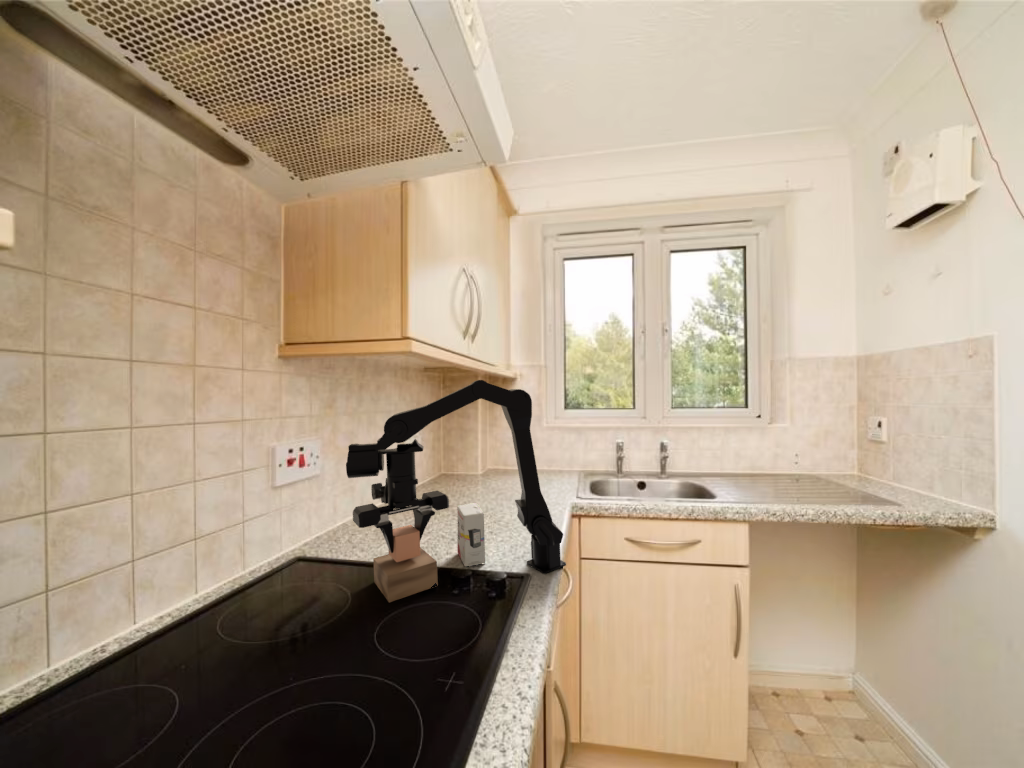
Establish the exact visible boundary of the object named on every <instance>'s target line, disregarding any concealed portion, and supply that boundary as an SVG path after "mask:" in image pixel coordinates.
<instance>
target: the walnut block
mask: <svg viewBox="0 0 1024 768" xmlns="http://www.w3.org/2000/svg"><path fill="white" fill-rule="evenodd" d="M438 579H439V578H438V561H437V560H436V559H435V558H434V557H432V556H431V555H430V554H429V553H428V552H426V551H425V550H424V549H423V548H422V547H421V546H420V556H417V557H413V558H410V559H407V560H403V561H400V562H396V561H395V560H394V559H393V558H392V557H391V556H390V555H389V553H388V554H387V553H386V554H384V555H381V556H378V557H374V558H373V582H374V584H375V585H376V586H377V589H379V590H380V593H381V594H382V595H383V597H384V598H385V599H386V601H387V602H388V603H392V602H395V601H398V600H400V599H403V598H406V597H410V596H412V595H416V594H417V593H421V592H424V591H427V590H429V589H432V588H433V587H432V586H433V585H434V584H435V583H436V584H437V586H436V587H438V585H439V582H438ZM431 587H432V588H431Z"/></svg>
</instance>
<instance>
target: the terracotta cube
mask: <svg viewBox="0 0 1024 768" xmlns="http://www.w3.org/2000/svg"><path fill="white" fill-rule="evenodd" d="M393 541H394V549H393V553H391V552H390V551H389V550H388V554H389V555H390V556H391V557H392V558H393V559H394V560H395V561H396V562H400V561H403V560H407V559H410V558H413V557H417V556H420V547H421V540H420V531H418V530H417V529H416V528H415V527H414V526H413V525H412V524H408V525H404V526H400V527H395V528H393Z"/></svg>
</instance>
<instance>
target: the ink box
mask: <svg viewBox="0 0 1024 768" xmlns="http://www.w3.org/2000/svg"><path fill="white" fill-rule="evenodd" d="M485 544H486V543H485V513H484V511H483V510H482V509H481V507H480V506H479V505H478V503H476V502H475V503H474V502H473V503H465V504H460V505H457V553H458V556H459V559H460V560H461V562H462V564H463V565H464V567H465V566H469V567H472V566H471V565H476V566H478V565H477V564H482V563H485V564H486V550H485V548H486V545H485ZM482 565H483V564H482Z"/></svg>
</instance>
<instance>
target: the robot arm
mask: <svg viewBox="0 0 1024 768" xmlns="http://www.w3.org/2000/svg"><path fill="white" fill-rule="evenodd" d="M478 400H483V401H484V400H485V401H487V402H490V403H493V404H495V405H498V406H501V408H502V409H501V410H502V412H503V414H504V415H503V416H504V417H505V420H506V423H507V424H508V426H509V429H510V432H511V435H512V437H511V438H512V444H513V447H514V449H513V450H514V453H515V458H516V465H517V466H516V467H517V471H518V477H519V482H520V489H521V494H520V499H514V502H515V505H516V508H517V515H516V516H517V518H518V519H519V521H520V524H522V526H523V527H525V528H526V530H527V531H528V532H529V534H531V540H530V548H531V549H530V552H531V559H529V560H527V561H526V565H528V566H530V567H531V566H532V568H533V569H535V570H537V571H538V572H540V573H542V574H549V573H551V572H552V571H553V572H554V571H556V570H558V569H561V568H563V567H566V566H567V562H566V561H564V560H562V559H561V543H562V540H563V537H564V533H563V532H562V531H561V530H560V528H559V527H558V526H557V525H556V523H554V521H553V518H552V515H551V512H550V510H549V507H548V504H547V503H546V501H545V498H544V495H543V493H542V490H541V486H540V479H539V474H538V468H537V462H536V456H535V450H534V445H533V440H532V433H531V423H532V418H533V401H532V396H531V395H530V393H528V392H527V391H525V390H524V389H520V388H519V389H518V388H517V389H516V388H511V389H507V388H503V387H500V386H498V385H496V384H493V383H489V382H487V381H485V380H484V379H477V380H474V381H473V382H471V383H470V384H468V385H466V386H464V387H461V388H459V389H458V390H456V391H453V392H451V393H449V394H447V395H445V396H443V397H441V398H439V399H436V400H435V401H433V402H430V403H428V404H426V405H423V406H420V407H416V408H412V409H407V410H404V411H401V412H396V413H394V414H393V415H391V416H390V417H389V418H387V420H386V421H385V422H384V425H383V434H382V436H380V437H379V438H378V439H377V440H376V442H374V443H361V444H360V443H351V444H349V445H348V453H347V457H346V464H345V469H346V476H347V478H348V479H356V478H357V479H358V478H367V477H369V478H370V477H379V475H380V471H384V469H385V457H386V478H385V485H383V483H382V482H377V483H372V484H370V485H371V498H372V500H373V501H374V500H378V499H379V500H381V501H380V502H381V503H382V504H385V505H384V506H379V507H378V506H377V505H375V504H374V503H373V502H372V503H369V504H364V505H359V506H355V508H354V509H353V510H352V522H354V524H355V525H357V527H358V528H361V529H363V528H368V527H372V526H373V527H375V528H376V529H380V532H381V533H382V535H383V538H384V540H385V543H386V546H387V549H388V552H389V551H390V552H391V553H393V549H394V541H393V529H394V527H393V522H392V521H390V518H389V517H390V516H391V515H392V516H393V515H395V514H400V513H405V512H409V511H412V512H413V518H414V526H413V527H415V528H416V529H417V530H418V531H420V541H421V539H422V537H423V535H424V532H425V530H426V527H427V525H428V524H429V522H430V520H431V518H432V516H435V515H436V511H442V510H445V509H448V508H450V500H449V497H448V495H447V494H445V493H444V492H441V491H439V490H433V491H429V492H423V493H422V495H421V498H417V485H419V484H418V483H419V479H418V478H416V476H417V475H416V454H415V453H421V452H423V451H424V447H425V446H423V445H422V444H421V443H420V442H419V441H418V440H417V439H416V438H415V439H413V441H412V442H409V443H406V441H408V440H410V439H411V438H412V437H414V436H415V435H416V434H418V433H419V432H421V431H422V430H423V429H425V427H427V426H429V425H430V424H431V423H433V422H435V421H437V420H439V419H442V418H444V417H445V416H447V415H449V414H452V413H454V412H455V411H457V410H460V409H461V408H462V409H463V407H467V405H470V404H472V403H475V402H476V401H478ZM404 442H405V443H404ZM394 444H397V445H396V448H390V447H391V446H393V445H394ZM385 455H386V456H385ZM386 504H387V505H386ZM433 509H434V510H435V511H434V510H433Z"/></svg>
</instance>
